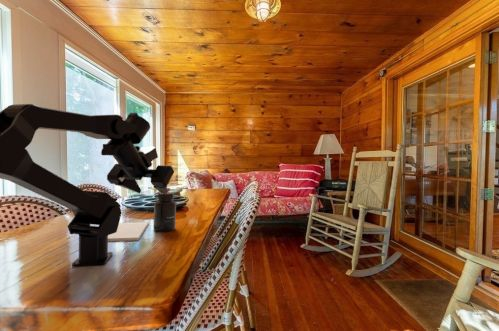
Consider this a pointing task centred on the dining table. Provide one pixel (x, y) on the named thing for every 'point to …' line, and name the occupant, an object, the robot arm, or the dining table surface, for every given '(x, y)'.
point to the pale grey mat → (128, 231)
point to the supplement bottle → (164, 213)
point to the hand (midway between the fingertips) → (152, 193)
